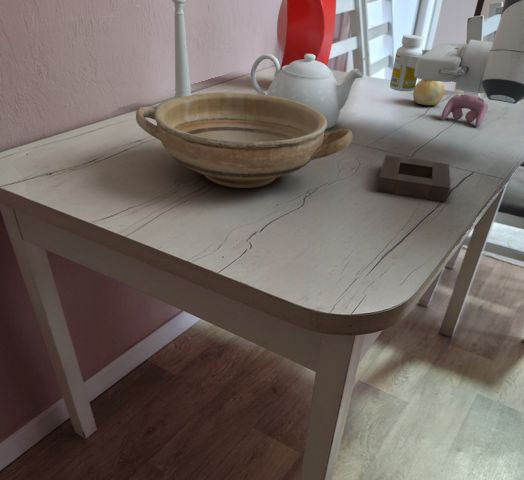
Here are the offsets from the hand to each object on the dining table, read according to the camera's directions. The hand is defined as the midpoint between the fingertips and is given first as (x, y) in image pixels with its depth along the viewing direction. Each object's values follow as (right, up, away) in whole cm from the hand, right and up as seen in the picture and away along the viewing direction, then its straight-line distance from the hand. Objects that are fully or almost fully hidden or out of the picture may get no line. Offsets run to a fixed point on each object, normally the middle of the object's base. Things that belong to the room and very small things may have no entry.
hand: (404, 56), depth 102 cm
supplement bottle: (0, -5, +4) cm, 6 cm away
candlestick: (-48, -6, +12) cm, 50 cm away
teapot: (-21, -9, +11) cm, 25 cm away
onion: (+14, +4, +28) cm, 32 cm away
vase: (-19, +11, +34) cm, 41 cm away
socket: (-3, -32, -14) cm, 35 cm away
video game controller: (+19, -5, +18) cm, 27 cm away
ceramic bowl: (-34, -30, -15) cm, 48 cm away
